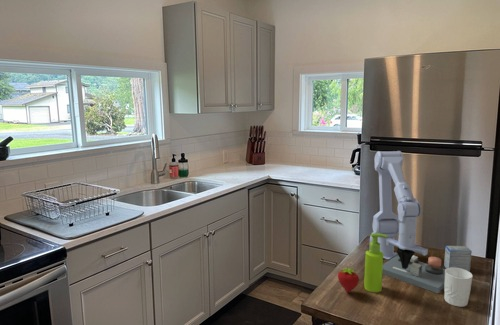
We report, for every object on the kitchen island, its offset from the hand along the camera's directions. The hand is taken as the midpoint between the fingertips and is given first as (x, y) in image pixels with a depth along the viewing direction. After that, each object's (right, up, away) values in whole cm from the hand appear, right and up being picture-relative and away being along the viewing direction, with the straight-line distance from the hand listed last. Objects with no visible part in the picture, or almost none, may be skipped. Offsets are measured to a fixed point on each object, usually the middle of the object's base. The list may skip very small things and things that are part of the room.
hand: (405, 267), depth 141 cm
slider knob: (+3, -2, -3) cm, 4 cm away
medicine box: (+22, -2, +6) cm, 23 cm away
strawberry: (-24, -6, -10) cm, 27 cm away
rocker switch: (+5, +1, +8) cm, 9 cm away
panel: (+5, -3, +2) cm, 6 cm away
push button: (+11, +1, 0) cm, 11 cm away
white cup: (+10, -7, -17) cm, 20 cm away
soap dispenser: (-14, -5, -8) cm, 17 cm away
